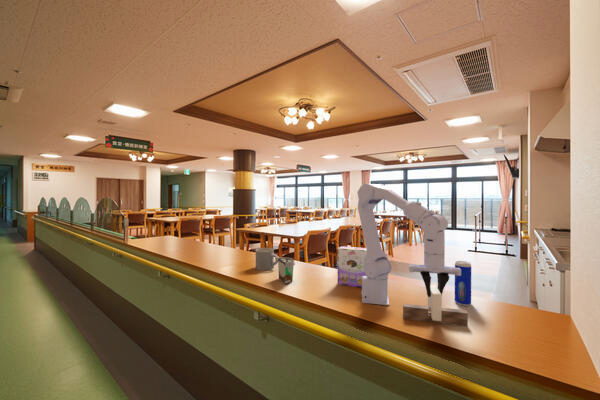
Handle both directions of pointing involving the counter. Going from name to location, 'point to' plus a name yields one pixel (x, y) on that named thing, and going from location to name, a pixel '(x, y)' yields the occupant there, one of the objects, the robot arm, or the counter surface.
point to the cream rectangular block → (435, 303)
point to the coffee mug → (265, 259)
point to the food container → (285, 269)
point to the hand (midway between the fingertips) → (434, 296)
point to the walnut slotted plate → (422, 314)
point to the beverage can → (463, 283)
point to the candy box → (351, 265)
